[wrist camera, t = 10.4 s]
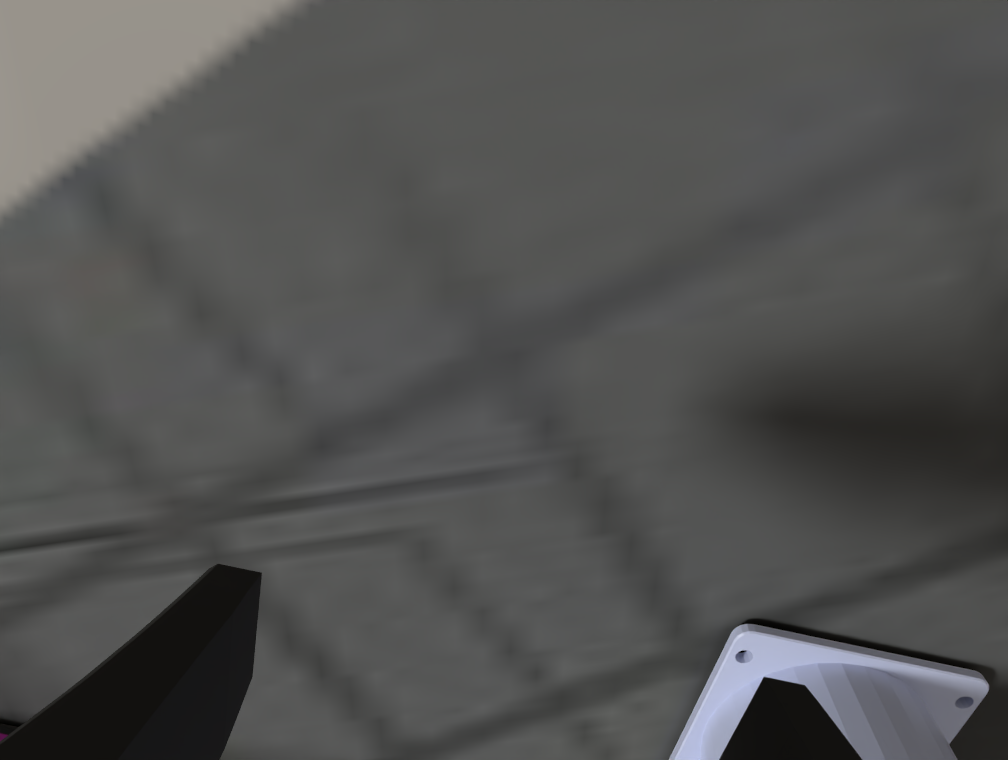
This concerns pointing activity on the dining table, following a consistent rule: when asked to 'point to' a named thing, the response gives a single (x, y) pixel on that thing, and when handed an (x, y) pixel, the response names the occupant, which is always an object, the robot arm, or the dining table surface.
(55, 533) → the dining table surface
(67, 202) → the dining table surface
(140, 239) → the dining table surface
